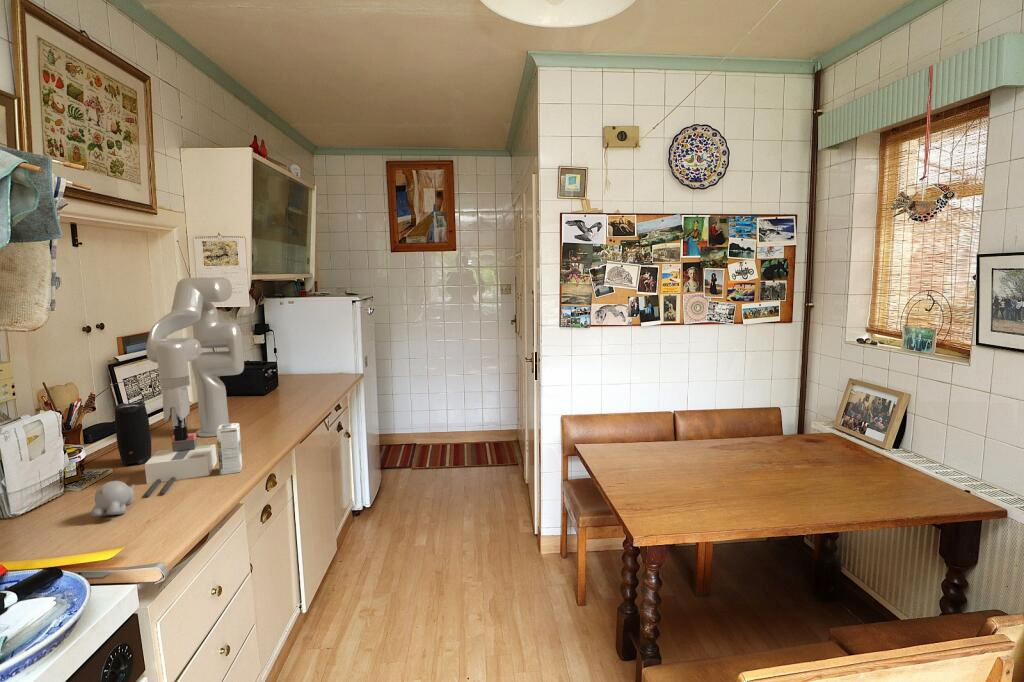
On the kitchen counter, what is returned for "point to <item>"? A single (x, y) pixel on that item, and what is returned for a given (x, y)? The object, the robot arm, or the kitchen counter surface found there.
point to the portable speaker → (133, 433)
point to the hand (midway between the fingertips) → (181, 439)
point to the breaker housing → (181, 464)
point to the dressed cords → (157, 485)
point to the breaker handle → (185, 443)
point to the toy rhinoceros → (112, 498)
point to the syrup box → (229, 448)
